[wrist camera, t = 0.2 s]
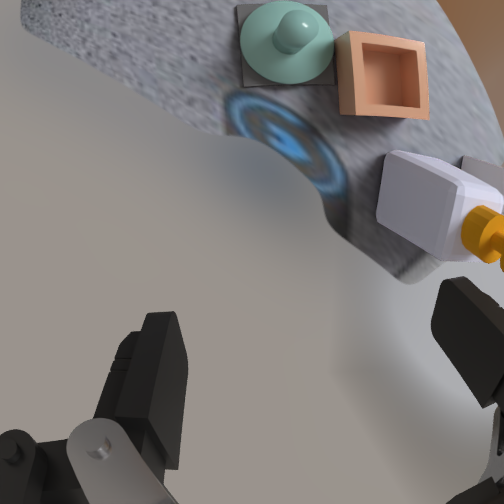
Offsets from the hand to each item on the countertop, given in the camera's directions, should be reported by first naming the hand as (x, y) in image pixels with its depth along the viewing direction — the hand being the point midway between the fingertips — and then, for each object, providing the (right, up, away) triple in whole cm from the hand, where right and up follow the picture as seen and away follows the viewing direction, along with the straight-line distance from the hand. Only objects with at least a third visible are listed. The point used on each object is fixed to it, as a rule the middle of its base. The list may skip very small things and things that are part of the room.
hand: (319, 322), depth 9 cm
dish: (+12, +22, +22) cm, 33 cm away
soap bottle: (+20, +10, +28) cm, 36 cm away
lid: (+2, +24, +20) cm, 31 cm away
